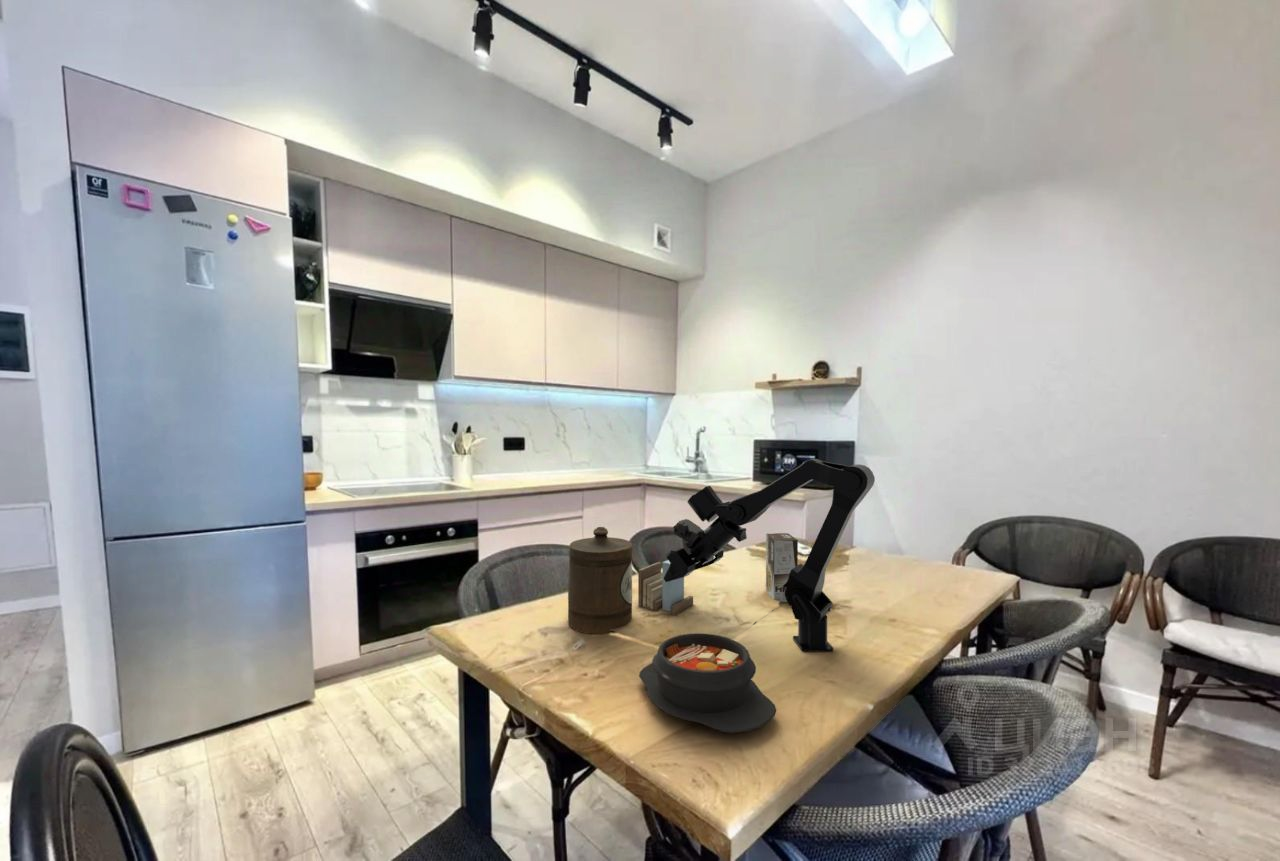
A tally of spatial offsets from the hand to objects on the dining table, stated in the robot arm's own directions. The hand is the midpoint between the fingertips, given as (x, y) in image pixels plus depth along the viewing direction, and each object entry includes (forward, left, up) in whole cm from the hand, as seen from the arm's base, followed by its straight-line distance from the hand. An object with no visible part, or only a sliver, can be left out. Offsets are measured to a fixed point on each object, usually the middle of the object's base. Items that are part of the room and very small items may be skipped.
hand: (675, 575), depth 124 cm
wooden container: (-7, +18, -9) cm, 21 cm away
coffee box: (+10, -29, -9) cm, 32 cm away
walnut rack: (+1, +2, -9) cm, 9 cm away
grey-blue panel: (0, 0, -8) cm, 8 cm away
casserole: (-41, -2, -9) cm, 42 cm away
